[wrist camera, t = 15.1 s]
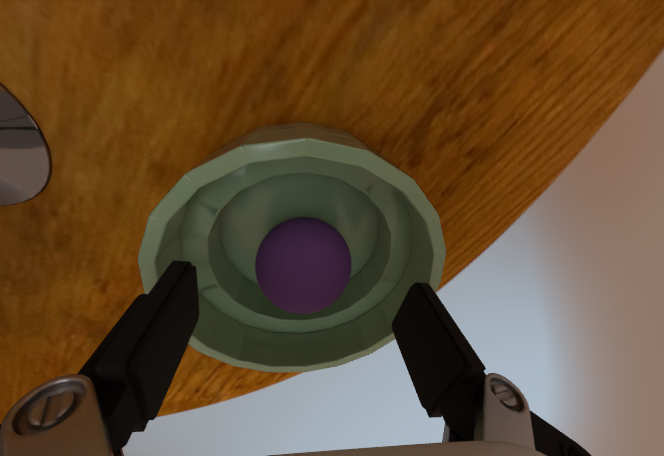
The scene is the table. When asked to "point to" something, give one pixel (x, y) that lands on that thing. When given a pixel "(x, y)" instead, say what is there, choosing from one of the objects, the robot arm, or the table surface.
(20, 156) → the silver goblet
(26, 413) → the robot arm
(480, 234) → the table surface
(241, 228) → the green bowl
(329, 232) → the purple ball
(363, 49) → the table surface
